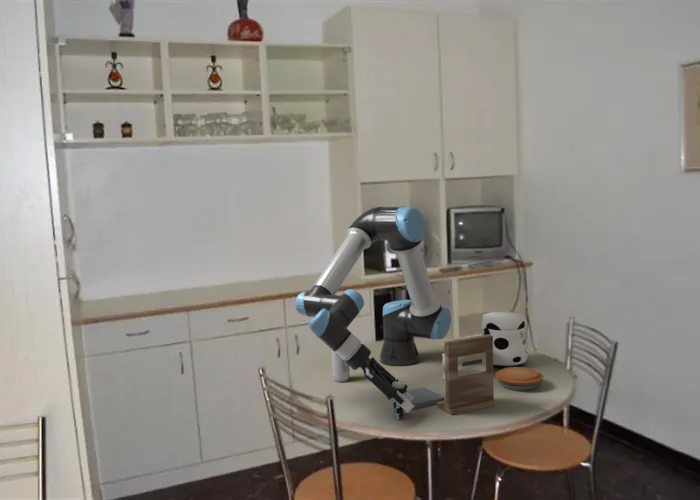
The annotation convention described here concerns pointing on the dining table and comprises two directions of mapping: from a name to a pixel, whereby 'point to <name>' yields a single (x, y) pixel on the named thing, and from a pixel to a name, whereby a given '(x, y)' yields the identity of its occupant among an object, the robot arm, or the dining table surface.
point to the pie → (519, 378)
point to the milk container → (506, 338)
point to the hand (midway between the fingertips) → (410, 405)
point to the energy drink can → (339, 368)
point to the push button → (402, 389)
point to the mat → (424, 397)
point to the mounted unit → (468, 374)
